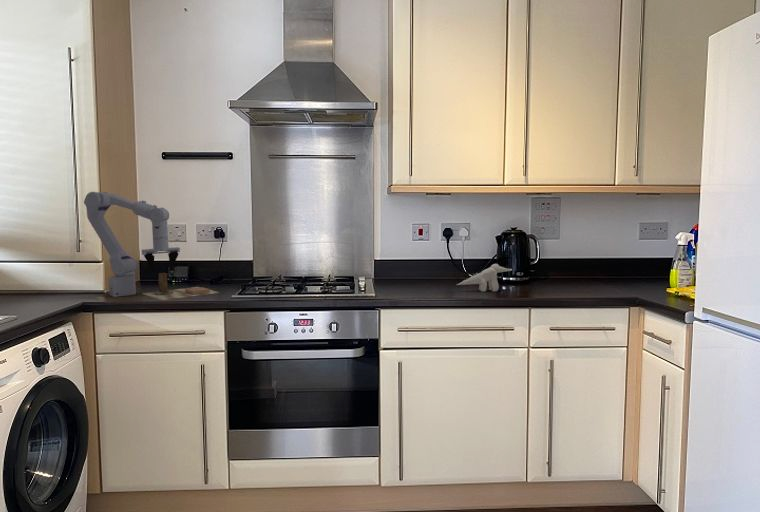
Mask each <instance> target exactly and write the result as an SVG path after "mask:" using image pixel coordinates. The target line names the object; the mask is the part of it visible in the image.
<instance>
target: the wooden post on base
mask: <svg viewBox="0 0 760 512" xmlns="http://www.w3.org/2000/svg"><path fill="white" fill-rule="evenodd" d="M170 290H171V289H169V287H168V273H166V272H160V273H158V290H156V291H153V292H154V294H155V295H158V296H159V295H167V294H173V291H170Z"/></svg>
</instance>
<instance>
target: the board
mask: <svg viewBox="0 0 760 512" xmlns="http://www.w3.org/2000/svg"><path fill="white" fill-rule="evenodd" d="M199 287H200V286H192V287H186V288H185V287H184V288H176V289H169V290H170V291H173V294H167V295H159V296H158V295H155V294H154V292H155V291H152V292H150V291H149V292H142V293H141V294H142V295H144V296H148V297H151V298H154V299H155V300H159V301H166V300H174V299H175V300H176V299H181V298H189V297H198V296H204V295H212V294H219V293H220V294H221V292H220V291H216V290H213V289H210V293H205V294H197V295H192V294H188V293H186V292H185V289H190V288H199Z"/></svg>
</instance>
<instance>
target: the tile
mask: <svg viewBox="0 0 760 512" xmlns="http://www.w3.org/2000/svg"><path fill="white" fill-rule="evenodd" d="M198 287H199V288H192V287H189V288H190V289H185V292H186V293H188V294H192V295H197V294H205V293H210V290H211V289H210V288H206V287H203V286H201V287H200V286H198ZM205 295H206V294H205Z"/></svg>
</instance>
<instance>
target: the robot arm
mask: <svg viewBox="0 0 760 512" xmlns="http://www.w3.org/2000/svg"><path fill="white" fill-rule="evenodd" d="M83 203H84V206H85V209H86V217H87V220H88V222H89V223H90V224H91V226H92V228H93V230H94V231H95V233H96V235H97V236H98V239H100V242H101V243H102V245H103V247H104V248H105V250H106V251H107V253H108V255H109V257H110V258H109V264H110V266H111V271H112V273H113V274H114V275H113V276H110V277H109V278H108V289H109V290H108V291H109V296H111V297H114V298H116V297H122V296H132V295H133V296H134V295H136V294H137V293H136V292H137V289H136V273H135V271H136V270H137V269H138V262H137V260H136V259H135V258H134V257H132V256H131V254H130V253H128V252H127V251H125V250H124V249H123V246H122V245H121V244H120V242H119V240H118V239H117V237H116V235H115V233H114V232H113V231H112V230H113V229H111V227H110V225H109V223H108V222H107V221H106V219H105V215H106V212H107V211H108V210H109V209H110V207H111V206H118V207H122V208H124V209H128V210H131V211H132V212H133V214H134V215H136V216H139V217H141V218H144V219H147V220H150V222H151V227H152V228H151V230H152V247H153V248H147V249H141V254H142V255H143V257H144V259H145V260H146V262H147V264H148V267H149V270H150V273H155V254H158V255H159V254H167V256H168V261H169V262H168V263H169V270H170V271H174V270H175V264H176V261H177V258H179V257H178V256H179V253H180V252H181V248H180V247H169V229H168V220H169V218H170V212H169V211H168V209H166V208H164V207H158V205H156V204H153V205H152V204H149V203H147V201H146V200H138V201H137V202H134V201H133V200H130V199H127V198H125V197H123V196H119V195H117V194H115V193H109V192H106V191H104V192H103V191H102V192H101V191H100V192H97V191H89V192H88V193H87V194H86V196H85V198H84V201H83Z"/></svg>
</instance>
